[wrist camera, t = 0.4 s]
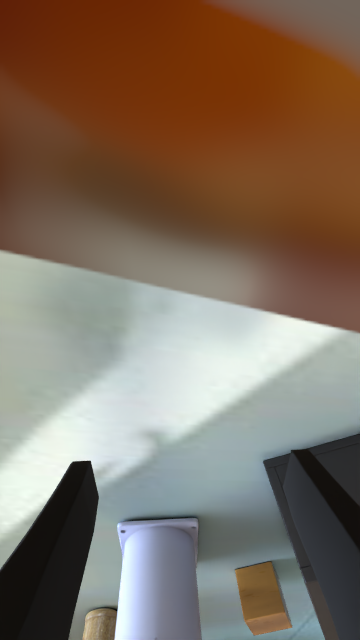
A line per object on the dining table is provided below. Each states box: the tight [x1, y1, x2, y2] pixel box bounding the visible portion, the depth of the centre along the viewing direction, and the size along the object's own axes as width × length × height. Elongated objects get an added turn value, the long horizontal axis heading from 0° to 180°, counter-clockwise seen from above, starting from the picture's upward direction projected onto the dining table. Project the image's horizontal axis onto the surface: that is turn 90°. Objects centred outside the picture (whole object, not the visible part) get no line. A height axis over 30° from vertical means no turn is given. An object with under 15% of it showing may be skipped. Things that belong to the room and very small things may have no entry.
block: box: [235, 561, 292, 635], centre depth 33 cm, size 4×4×4 cm
